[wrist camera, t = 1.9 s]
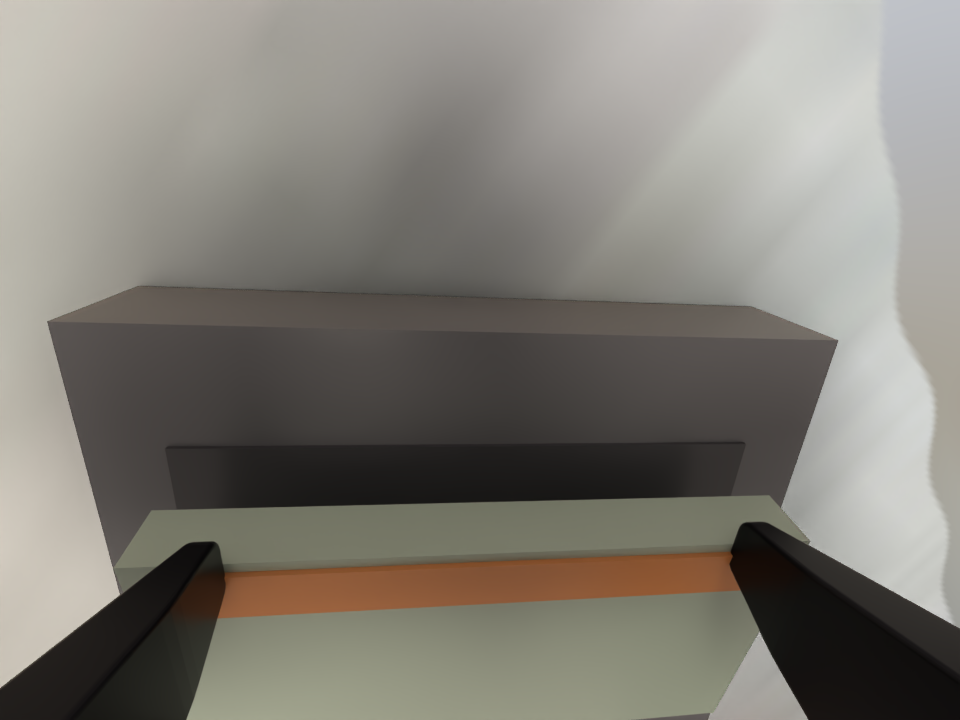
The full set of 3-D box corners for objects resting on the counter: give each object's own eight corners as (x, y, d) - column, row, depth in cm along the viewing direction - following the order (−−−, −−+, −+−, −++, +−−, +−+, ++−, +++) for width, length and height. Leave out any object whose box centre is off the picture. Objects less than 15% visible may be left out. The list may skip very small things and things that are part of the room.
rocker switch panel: (629, 758, 21) (664, 853, 18) (236, 798, 18) (202, 913, 16) (751, 306, 14) (842, 342, 11) (138, 286, 11) (43, 322, 8)
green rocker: (676, 637, 13) (715, 717, 12) (224, 666, 12) (190, 765, 10) (749, 472, 11) (813, 545, 9) (169, 482, 9) (109, 574, 7)
